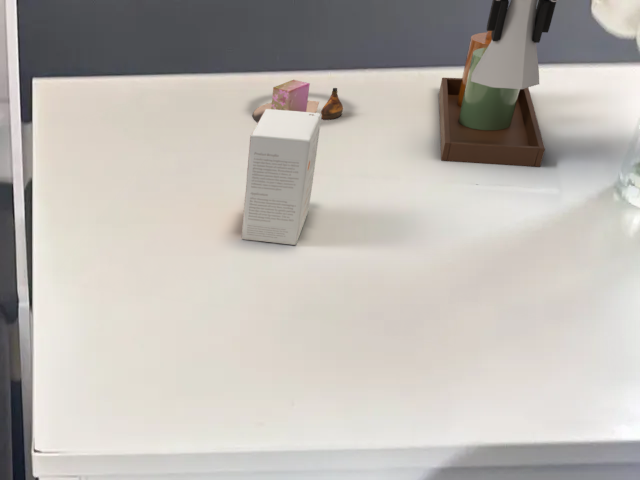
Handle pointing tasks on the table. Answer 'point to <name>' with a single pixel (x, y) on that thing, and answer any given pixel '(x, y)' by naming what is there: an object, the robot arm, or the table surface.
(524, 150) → the tray
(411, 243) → the table surface
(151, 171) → the table surface
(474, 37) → the amber bottle
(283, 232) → the small box
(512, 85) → the flask
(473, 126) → the green bottle
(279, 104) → the plate of sweets
